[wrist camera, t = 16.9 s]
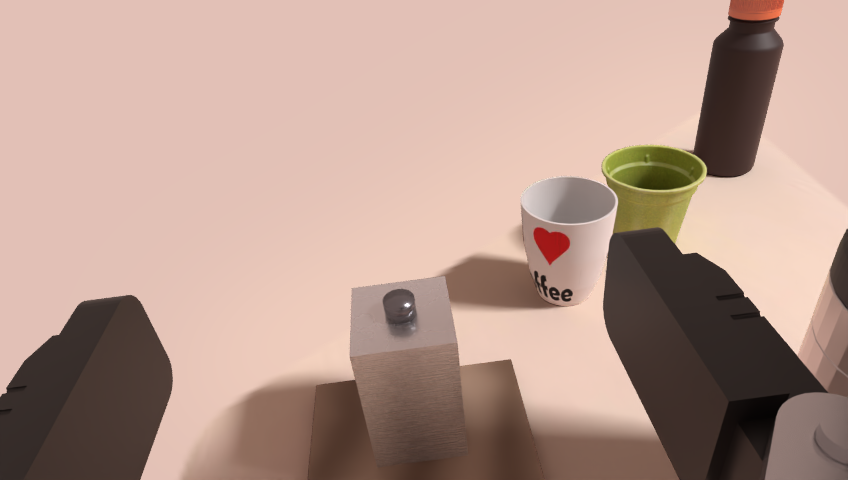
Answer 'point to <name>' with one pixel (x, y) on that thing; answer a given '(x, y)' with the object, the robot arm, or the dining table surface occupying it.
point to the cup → (567, 235)
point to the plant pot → (652, 186)
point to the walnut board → (457, 476)
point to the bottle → (739, 87)
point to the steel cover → (408, 371)
